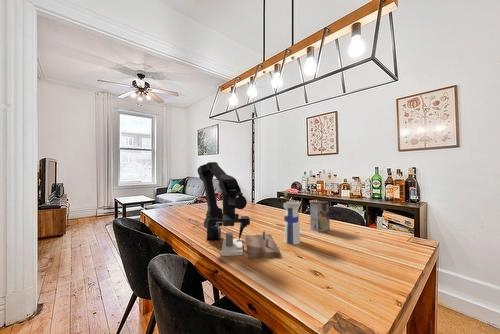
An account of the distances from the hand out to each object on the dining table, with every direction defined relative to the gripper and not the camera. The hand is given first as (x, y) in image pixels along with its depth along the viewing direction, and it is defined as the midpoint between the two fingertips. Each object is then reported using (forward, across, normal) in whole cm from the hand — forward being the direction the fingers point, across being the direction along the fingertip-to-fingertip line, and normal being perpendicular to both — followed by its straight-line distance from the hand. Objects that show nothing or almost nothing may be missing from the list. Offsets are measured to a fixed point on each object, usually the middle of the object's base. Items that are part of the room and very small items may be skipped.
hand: (229, 239), depth 98 cm
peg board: (+4, +14, 0) cm, 15 cm away
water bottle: (+4, +30, +5) cm, 31 cm away
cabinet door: (+4, +1, 0) cm, 4 cm away
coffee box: (+4, +51, +22) cm, 56 cm away
